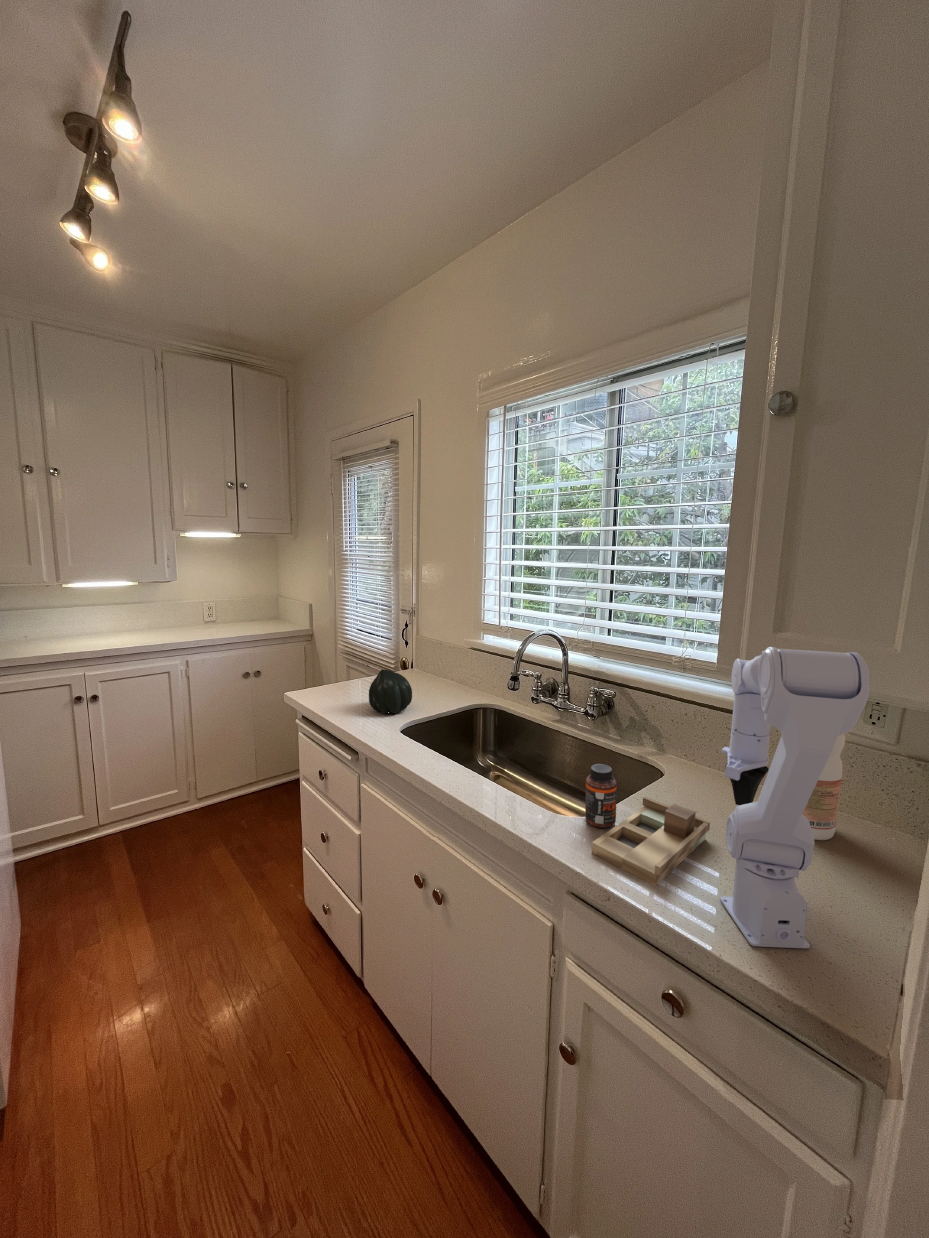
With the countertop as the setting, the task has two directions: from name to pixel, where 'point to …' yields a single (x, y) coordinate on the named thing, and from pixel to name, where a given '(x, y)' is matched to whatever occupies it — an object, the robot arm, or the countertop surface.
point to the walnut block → (679, 821)
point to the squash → (390, 692)
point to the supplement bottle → (601, 797)
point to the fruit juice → (826, 795)
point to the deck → (648, 843)
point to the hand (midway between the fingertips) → (743, 805)
